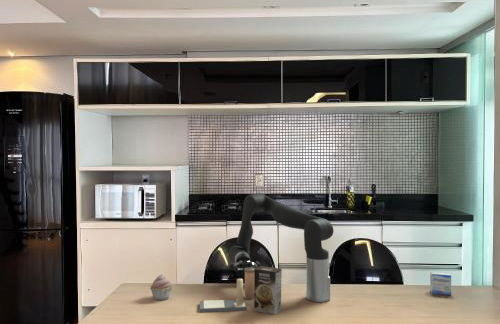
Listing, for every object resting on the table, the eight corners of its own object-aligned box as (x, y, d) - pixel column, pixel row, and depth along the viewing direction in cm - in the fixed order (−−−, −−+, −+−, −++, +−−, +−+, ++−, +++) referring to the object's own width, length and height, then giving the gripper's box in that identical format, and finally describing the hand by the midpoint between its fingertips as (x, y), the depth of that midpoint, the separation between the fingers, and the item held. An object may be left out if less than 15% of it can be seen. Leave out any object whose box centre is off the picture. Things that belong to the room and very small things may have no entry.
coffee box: (253, 311, 153) (253, 268, 153) (260, 305, 158) (260, 265, 158) (275, 315, 148) (275, 271, 148) (281, 309, 154) (282, 268, 154)
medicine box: (431, 293, 174) (431, 273, 174) (430, 290, 178) (430, 271, 178) (451, 295, 172) (451, 275, 172) (449, 292, 176) (449, 272, 176)
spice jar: (254, 295, 171) (254, 267, 171) (256, 299, 166) (256, 269, 166) (243, 296, 170) (243, 267, 170) (245, 299, 165) (245, 270, 166)
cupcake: (174, 300, 164) (174, 276, 164) (151, 303, 161) (151, 278, 161) (170, 293, 173) (170, 270, 173) (148, 296, 170) (148, 272, 170)
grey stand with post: (244, 302, 162) (244, 274, 162) (246, 310, 153) (246, 281, 153) (199, 304, 160) (199, 276, 160) (199, 312, 151) (199, 282, 151)
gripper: (228, 253, 195) (230, 261, 178) (257, 253, 196) (262, 261, 180) (228, 268, 195) (230, 278, 178) (257, 268, 196) (262, 277, 180)
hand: (246, 269), depth 179 cm, fingers open, 8 cm apart
